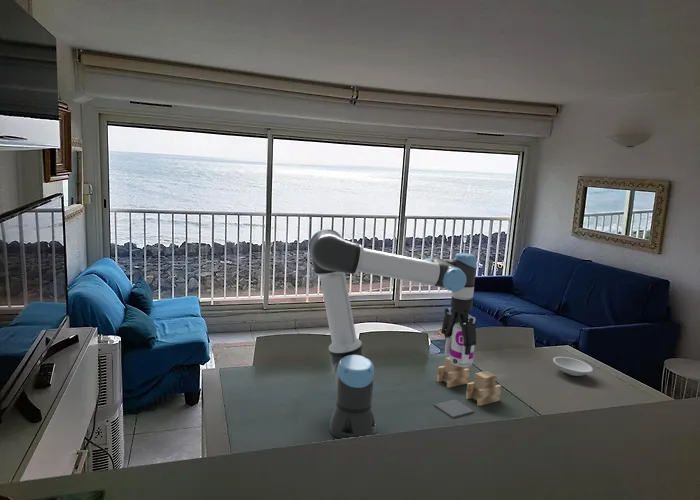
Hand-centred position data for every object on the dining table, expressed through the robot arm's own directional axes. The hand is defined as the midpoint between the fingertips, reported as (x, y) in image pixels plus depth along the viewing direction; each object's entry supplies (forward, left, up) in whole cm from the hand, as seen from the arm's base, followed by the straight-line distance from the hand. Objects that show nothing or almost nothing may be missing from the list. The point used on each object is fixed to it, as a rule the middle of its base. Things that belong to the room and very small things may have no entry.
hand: (456, 358), depth 176 cm
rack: (+16, +9, -19) cm, 26 cm away
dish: (+71, +2, -19) cm, 73 cm away
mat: (0, -1, -19) cm, 19 cm away
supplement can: (+3, 0, -3) cm, 4 cm away
